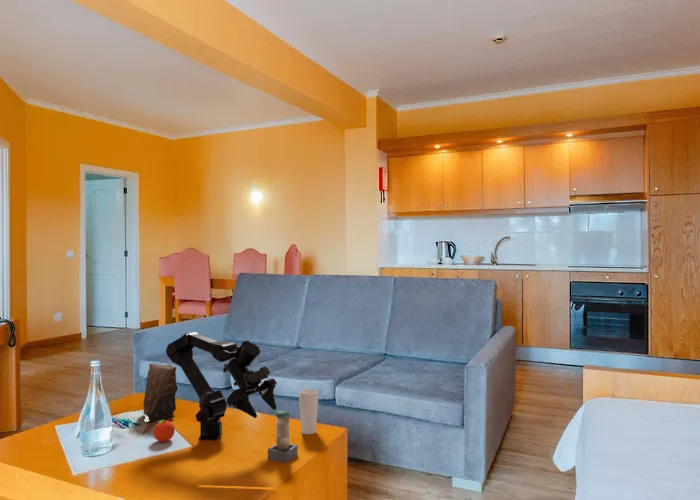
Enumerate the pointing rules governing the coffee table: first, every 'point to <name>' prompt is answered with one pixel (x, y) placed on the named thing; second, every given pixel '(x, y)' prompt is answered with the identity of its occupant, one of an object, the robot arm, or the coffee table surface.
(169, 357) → the robot arm
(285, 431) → the ivory peg
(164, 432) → the tomato
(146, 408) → the brown tree stump
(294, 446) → the charcoal holder block
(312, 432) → the drinking glass
